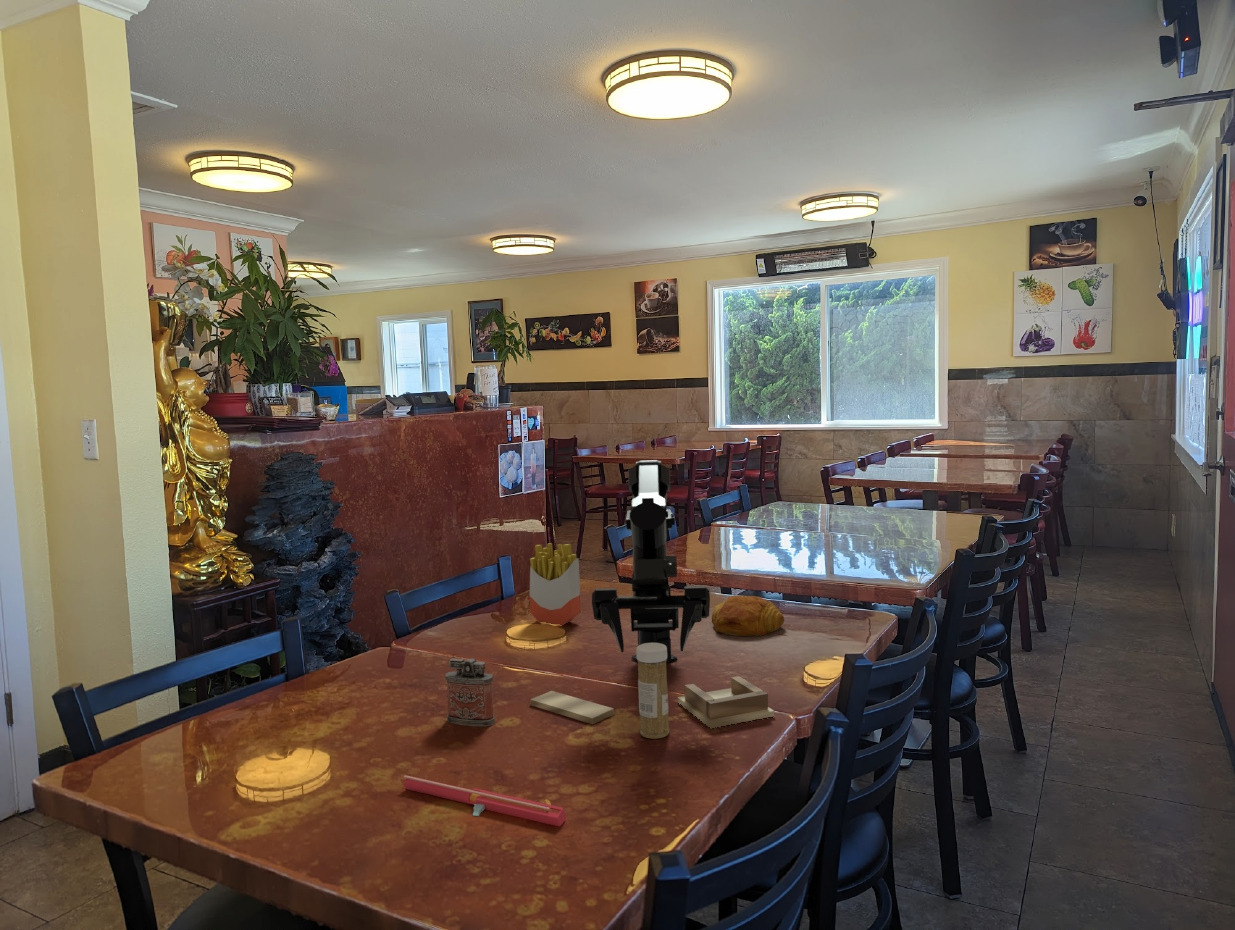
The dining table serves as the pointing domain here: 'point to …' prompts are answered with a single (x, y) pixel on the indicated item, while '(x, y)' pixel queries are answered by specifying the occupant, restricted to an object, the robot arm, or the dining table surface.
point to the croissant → (746, 616)
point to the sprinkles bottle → (653, 690)
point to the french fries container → (554, 585)
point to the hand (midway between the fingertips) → (651, 650)
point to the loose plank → (572, 707)
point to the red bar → (489, 801)
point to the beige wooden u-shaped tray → (727, 703)
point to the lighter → (469, 693)
